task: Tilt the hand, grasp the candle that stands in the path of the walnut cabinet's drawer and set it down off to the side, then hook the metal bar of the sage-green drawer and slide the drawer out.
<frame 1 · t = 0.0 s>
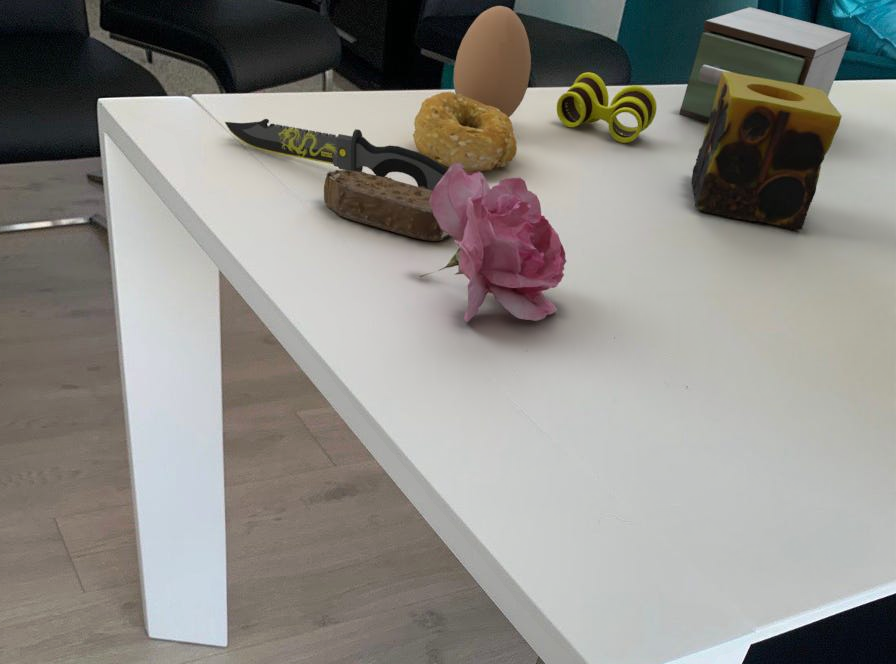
ice cream bar: (407, 228, 83), on the table
cabinet: (750, 117, 124), on the table
opera glasses: (599, 133, 111), on the table
egg: (482, 127, 106), on the table
flower: (494, 304, 74), on the table
drawer: (753, 79, 118), point 5 cm above the table, slide at 0.5 cm
candle: (742, 206, 98), on the table
bagel: (462, 160, 97), on the table
knife: (334, 176, 89), on the table
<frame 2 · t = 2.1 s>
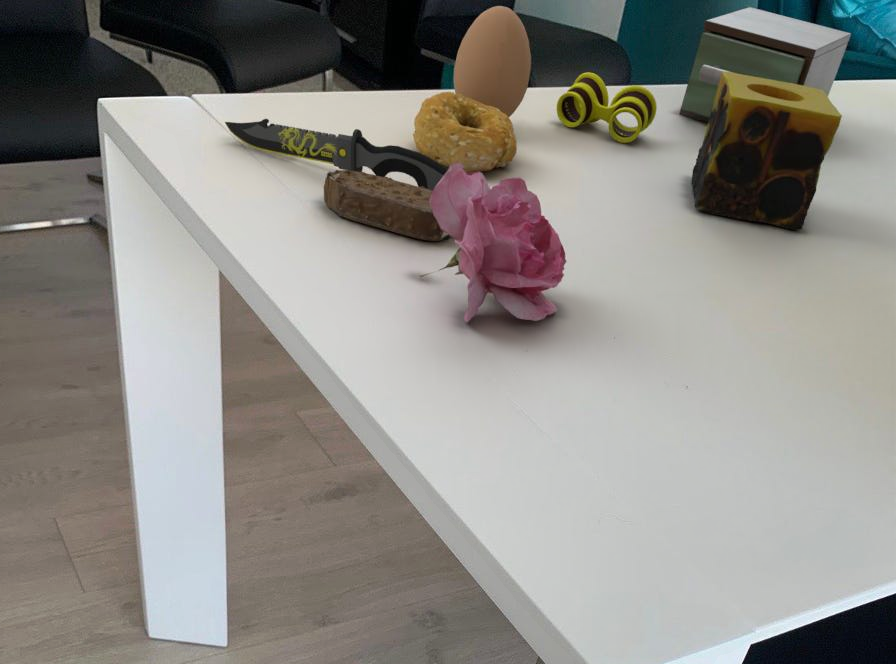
nothing on the table moved.
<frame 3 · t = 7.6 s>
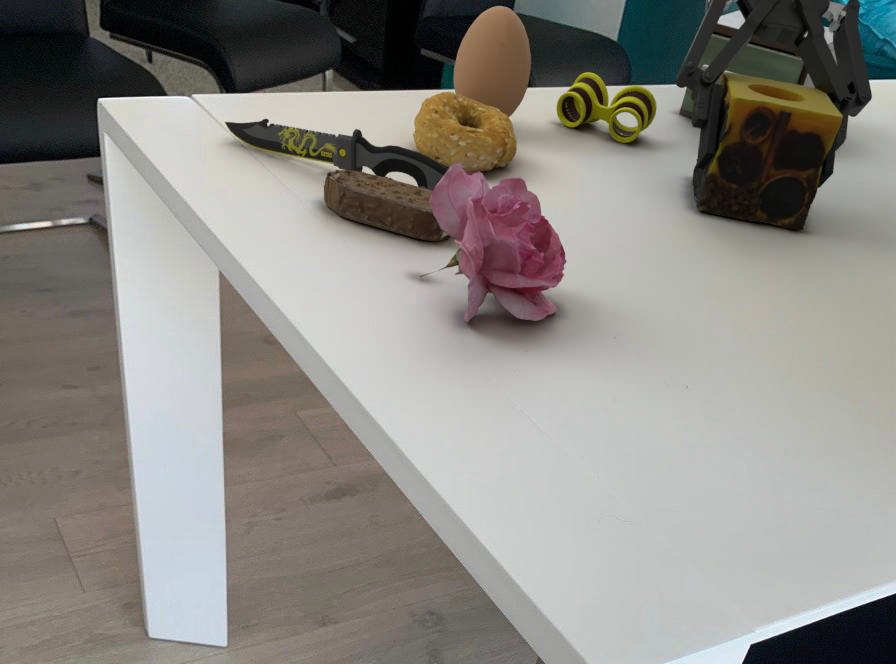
hand: (764, 170, 93), 4 cm above the table, tool tilted 45°, fingers closed on candle, 10 cm apart
candle: (743, 207, 98), on the table, touching gripper
everything else where it was.
when the fingers open (4 cm above the table, at t = 15.3 s): candle stays where it is, on the table.
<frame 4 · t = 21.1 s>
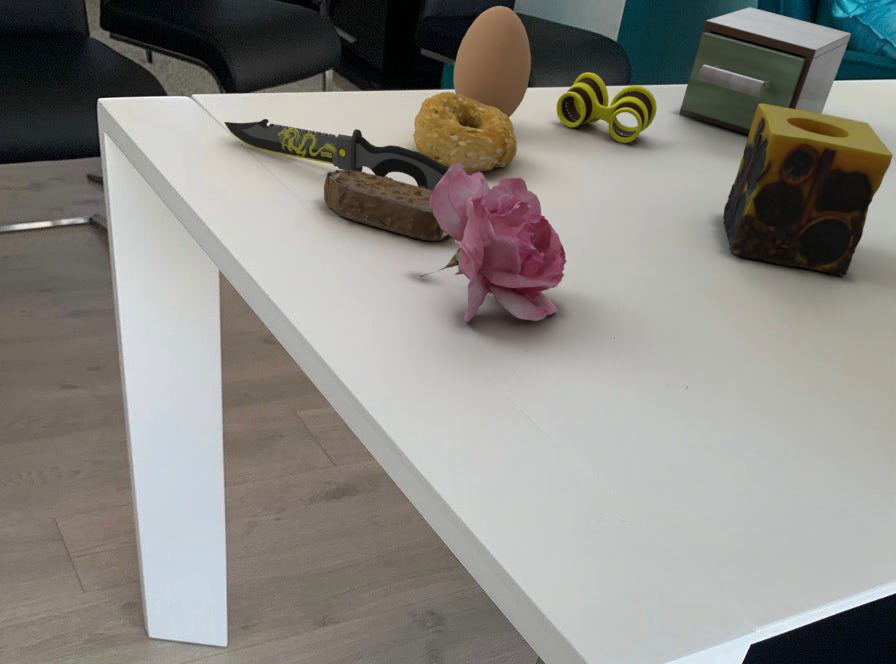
candle: (779, 248, 91), on the table
everything else where it was.
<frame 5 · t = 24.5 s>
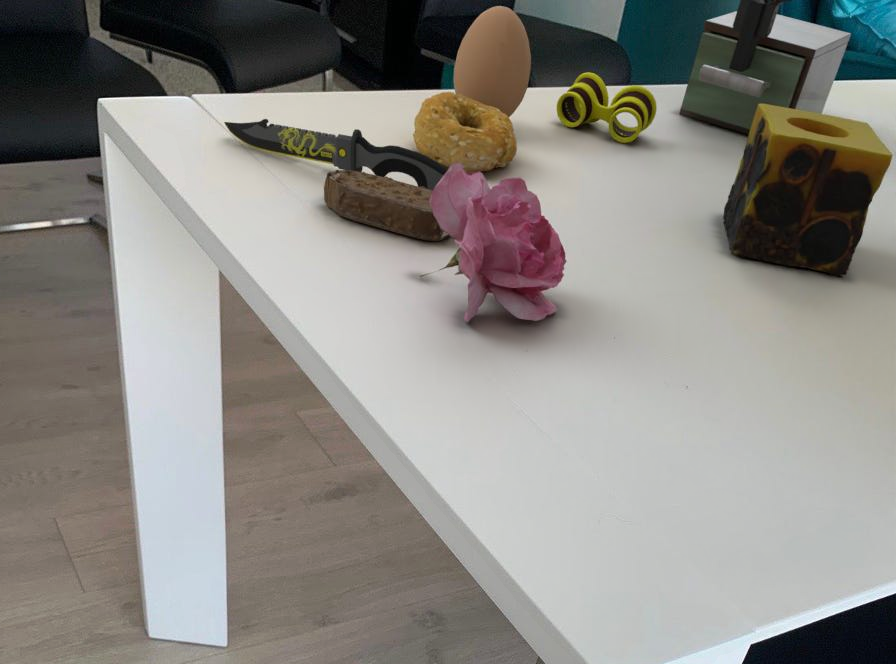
hand: (739, 68, 112), 7 cm above the table, tool pointing down, fingers closed
drawer: (753, 79, 118), point 5 cm above the table, slide at 0.5 cm, touching gripper
everything else where it was.
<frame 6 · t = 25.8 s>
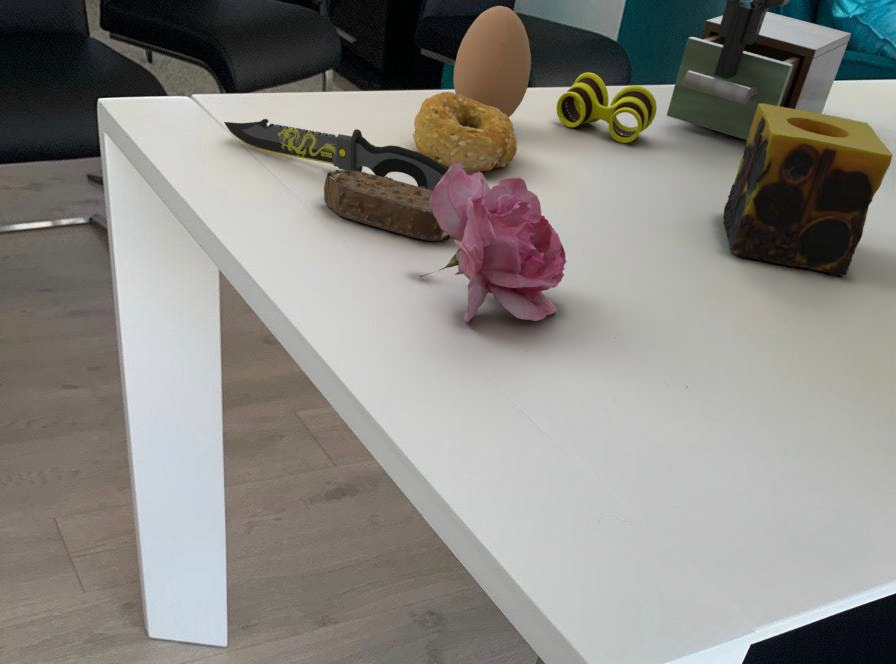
hand: (724, 74, 109), 7 cm above the table, tool pointing down, fingers closed
drawer: (740, 85, 114), point 5 cm above the table, slide at 5.2 cm, touching gripper
everything else where it was.
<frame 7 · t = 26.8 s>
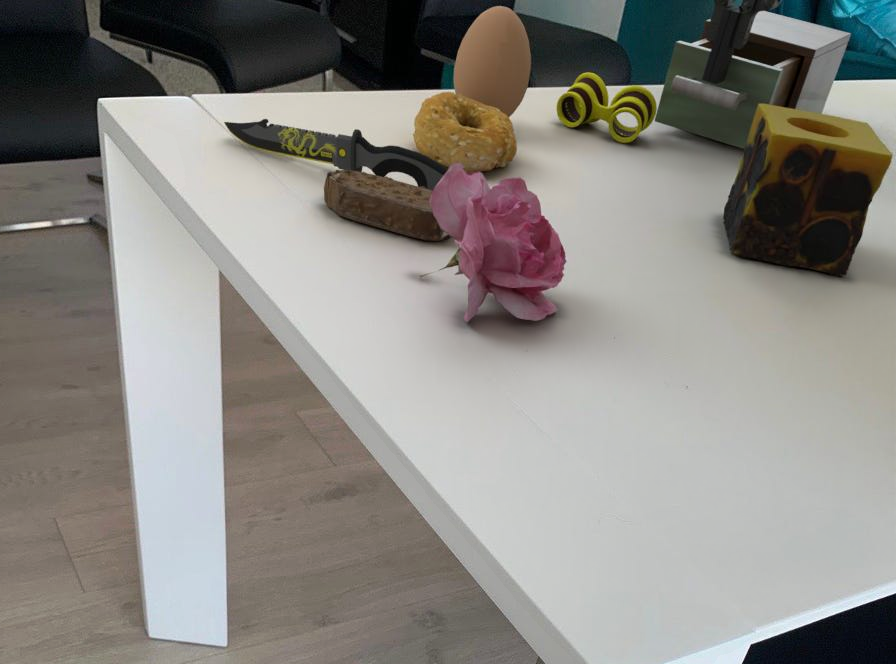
hand: (712, 79, 106), 7 cm above the table, tool pointing down, fingers closed
drawer: (729, 90, 112), point 5 cm above the table, slide at 8.9 cm, touching gripper
everything else where it was.
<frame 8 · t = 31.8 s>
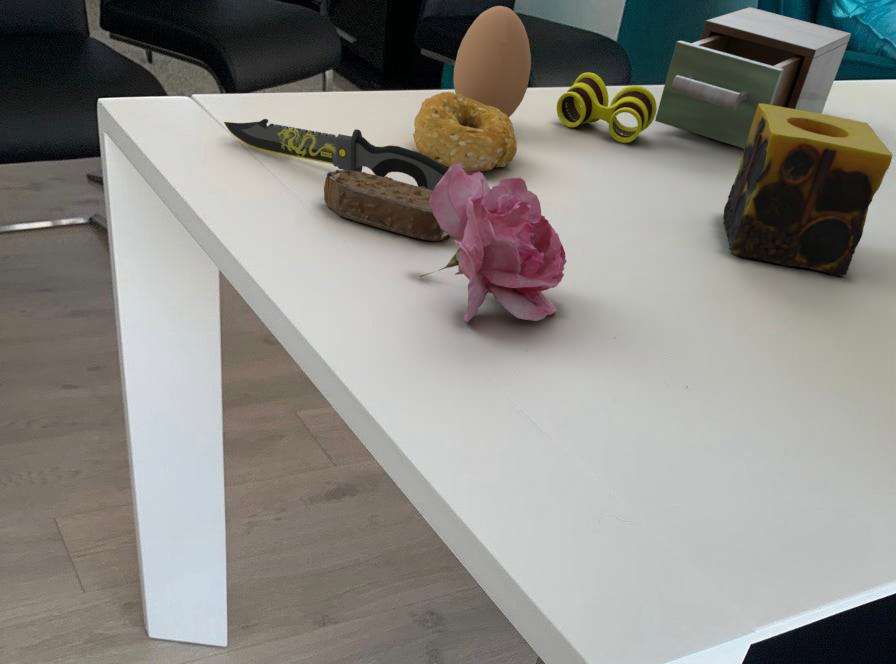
drawer: (730, 89, 112), point 5 cm above the table, slide at 8.7 cm
everything else where it was.
at the end: drawer slide at 8.7 cm; candle inside the target area (0.2 cm from its centre), on the table; candle tilted 0° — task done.
